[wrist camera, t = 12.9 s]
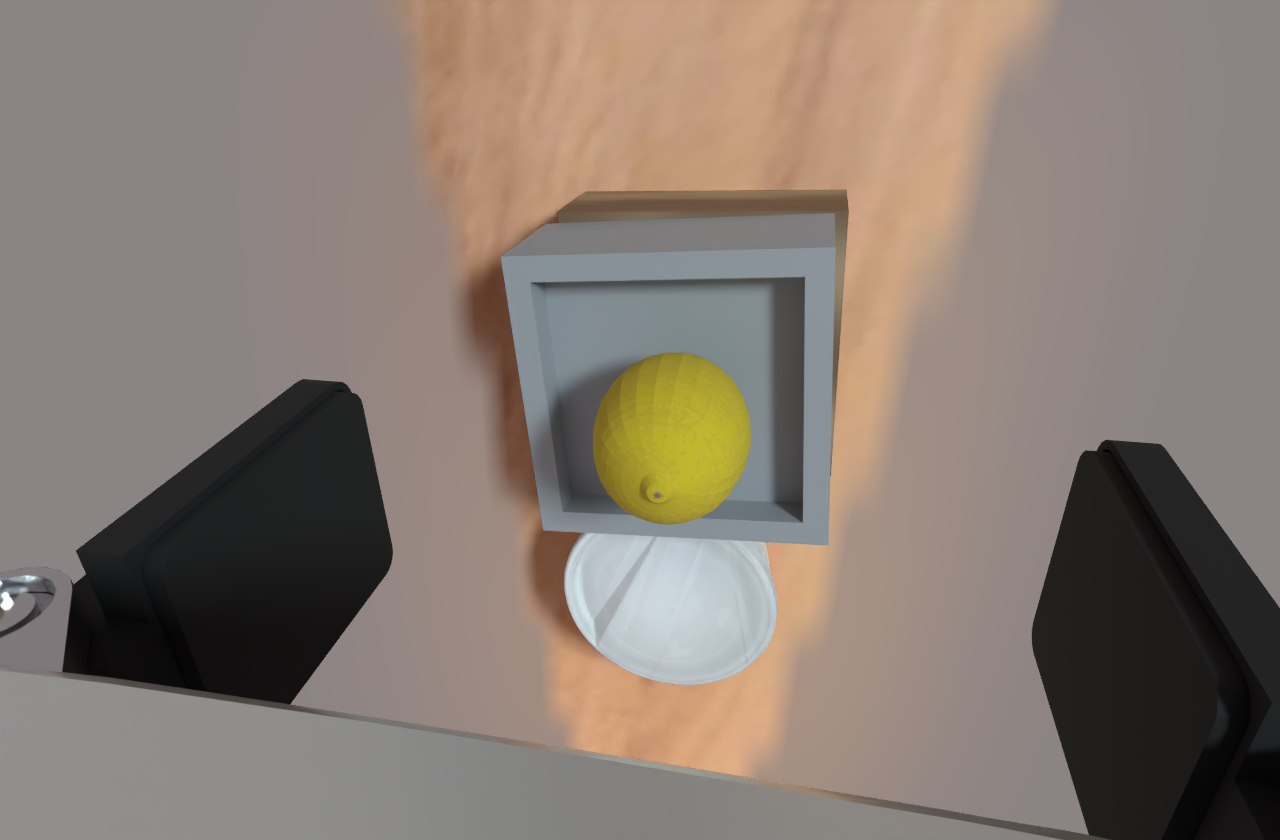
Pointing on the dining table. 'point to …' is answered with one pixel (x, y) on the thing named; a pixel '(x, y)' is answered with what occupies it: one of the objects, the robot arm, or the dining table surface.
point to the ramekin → (672, 604)
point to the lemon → (671, 438)
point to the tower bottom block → (724, 205)
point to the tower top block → (681, 323)
